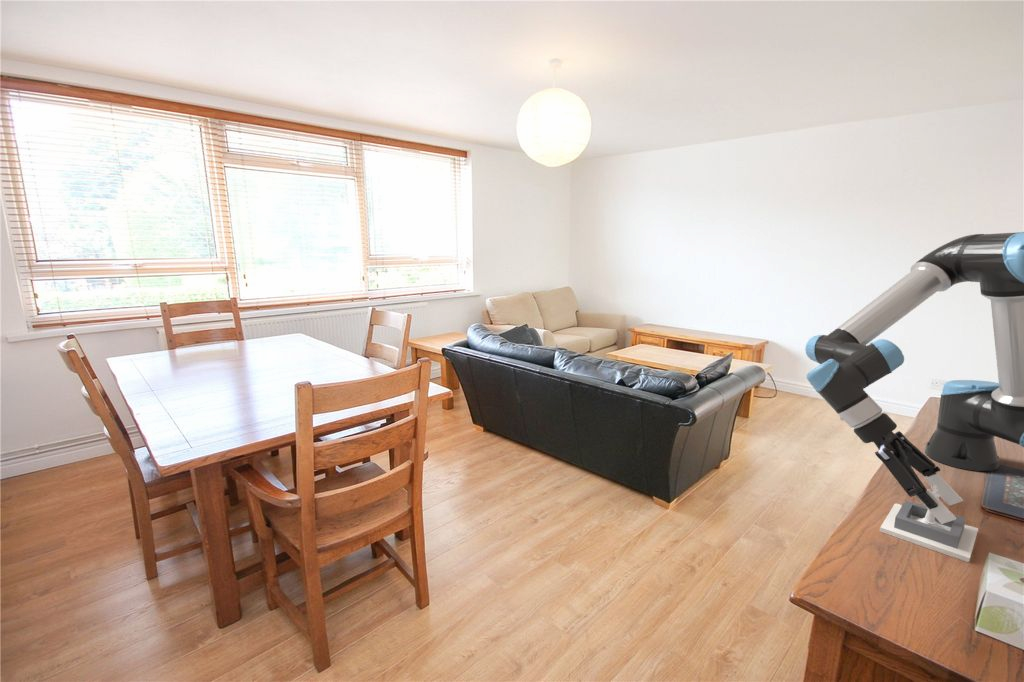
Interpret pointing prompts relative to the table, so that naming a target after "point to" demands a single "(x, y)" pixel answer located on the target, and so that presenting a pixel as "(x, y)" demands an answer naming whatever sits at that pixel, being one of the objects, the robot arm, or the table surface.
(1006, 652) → the table surface
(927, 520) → the chess piece
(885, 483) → the table surface
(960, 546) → the socket board
